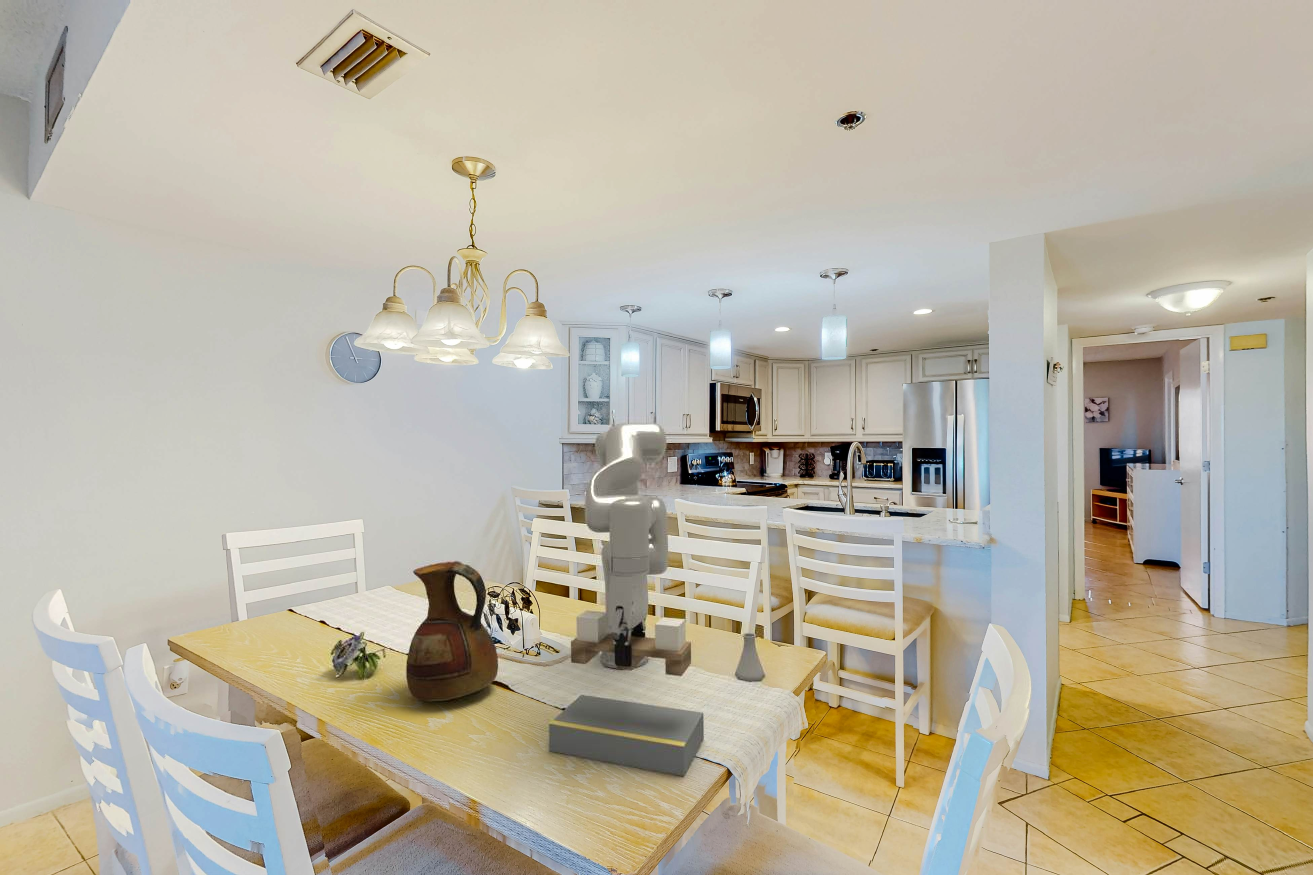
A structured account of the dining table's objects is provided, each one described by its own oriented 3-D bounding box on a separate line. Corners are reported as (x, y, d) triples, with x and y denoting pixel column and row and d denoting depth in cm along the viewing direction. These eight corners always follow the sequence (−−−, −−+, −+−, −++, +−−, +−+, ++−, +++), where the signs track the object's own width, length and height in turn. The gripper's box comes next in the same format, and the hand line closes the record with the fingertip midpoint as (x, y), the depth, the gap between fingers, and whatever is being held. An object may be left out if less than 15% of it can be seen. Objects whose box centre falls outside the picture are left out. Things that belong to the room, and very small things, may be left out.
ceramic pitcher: (428, 675, 142) (427, 554, 143) (509, 675, 142) (507, 553, 142) (389, 712, 123) (388, 571, 123) (482, 712, 122) (481, 571, 123)
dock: (549, 750, 106) (549, 723, 106) (581, 718, 119) (581, 694, 119) (684, 776, 98) (683, 746, 98) (703, 738, 110) (703, 712, 110)
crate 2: (655, 648, 106) (654, 624, 106) (662, 640, 110) (662, 617, 110) (678, 651, 104) (678, 626, 104) (685, 643, 108) (685, 619, 108)
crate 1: (576, 640, 111) (576, 616, 111) (587, 632, 115) (586, 610, 115) (598, 642, 109) (597, 618, 109) (607, 635, 114) (607, 612, 114)
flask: (765, 682, 135) (764, 640, 135) (734, 680, 137) (733, 638, 137) (765, 671, 142) (764, 630, 143) (735, 669, 144) (735, 629, 144)
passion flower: (339, 698, 142) (319, 655, 145) (382, 676, 151) (362, 636, 153) (351, 683, 136) (330, 639, 138) (395, 661, 144) (374, 619, 147)
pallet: (571, 662, 110) (570, 641, 110) (586, 650, 116) (585, 631, 116) (681, 676, 103) (681, 653, 103) (691, 663, 109) (690, 641, 109)
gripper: (628, 554, 119) (629, 641, 119) (591, 572, 103) (593, 673, 103) (662, 556, 117) (663, 645, 116) (631, 575, 100) (632, 678, 100)
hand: (630, 657), depth 109 cm, fingers closed on pallet, 6 cm apart
